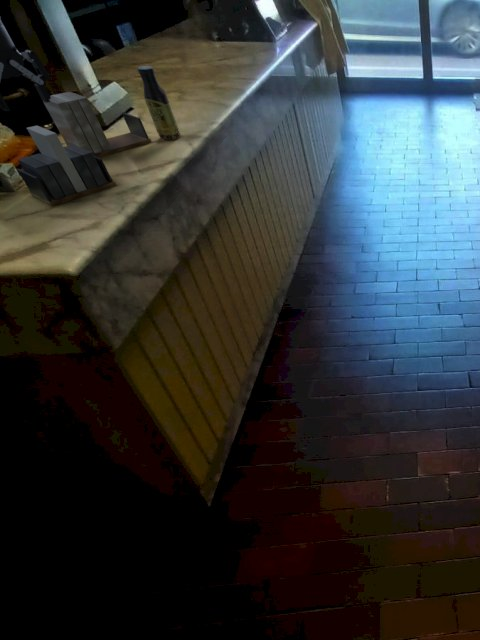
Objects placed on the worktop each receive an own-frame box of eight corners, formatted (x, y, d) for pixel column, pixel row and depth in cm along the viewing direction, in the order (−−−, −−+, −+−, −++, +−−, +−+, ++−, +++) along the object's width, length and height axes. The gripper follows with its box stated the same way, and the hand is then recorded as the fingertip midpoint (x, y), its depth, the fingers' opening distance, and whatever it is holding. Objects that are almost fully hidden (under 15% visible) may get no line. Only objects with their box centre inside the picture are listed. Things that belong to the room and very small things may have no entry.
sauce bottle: (155, 139, 163) (125, 68, 149) (170, 133, 168) (142, 63, 154) (172, 142, 162) (143, 70, 148) (187, 136, 166) (160, 66, 153)
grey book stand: (85, 161, 149) (55, 104, 138) (67, 153, 152) (36, 97, 142) (151, 142, 161) (128, 89, 151) (133, 135, 165) (109, 83, 155)
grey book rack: (52, 206, 128) (30, 170, 122) (31, 196, 132) (9, 160, 126) (116, 185, 138) (99, 151, 132) (95, 176, 142) (78, 142, 136)
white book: (77, 192, 132) (45, 135, 122) (59, 184, 135) (26, 127, 125) (87, 189, 133) (56, 133, 124) (68, 181, 137) (37, 125, 127)
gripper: (9, 17, 115) (51, 96, 127) (-69, 25, 106) (-16, 110, 118) (26, 21, 113) (67, 102, 124) (-53, 30, 104) (0, 116, 115)
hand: (27, 106), depth 121 cm, fingers open, 8 cm apart
